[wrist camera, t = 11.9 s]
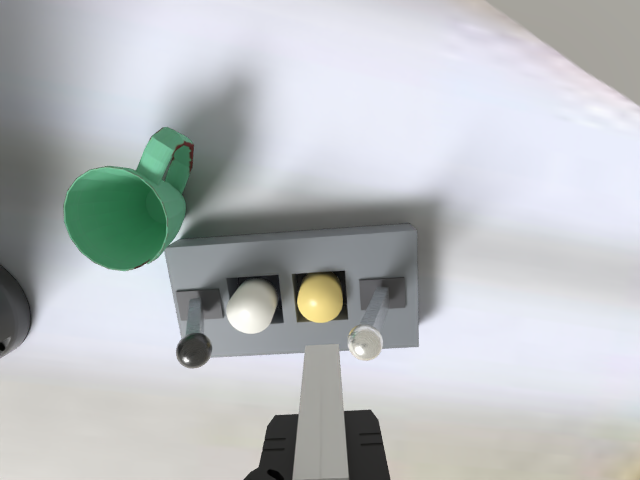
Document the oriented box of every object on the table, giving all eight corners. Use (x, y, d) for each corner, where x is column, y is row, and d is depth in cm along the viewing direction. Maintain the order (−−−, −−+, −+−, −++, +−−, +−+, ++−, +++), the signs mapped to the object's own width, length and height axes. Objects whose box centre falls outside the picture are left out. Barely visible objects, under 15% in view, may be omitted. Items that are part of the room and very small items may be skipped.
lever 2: (370, 308, 39) (344, 365, 29) (369, 283, 38) (342, 333, 28) (397, 310, 38) (380, 370, 28) (396, 284, 37) (378, 336, 27)
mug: (182, 259, 43) (139, 290, 33) (112, 215, 42) (46, 234, 32) (242, 159, 40) (213, 161, 30) (167, 109, 39) (112, 94, 29)
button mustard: (302, 308, 43) (299, 324, 39) (298, 270, 41) (295, 282, 38) (343, 306, 42) (344, 321, 38) (340, 267, 41) (341, 279, 37)
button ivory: (239, 317, 41) (229, 335, 38) (233, 278, 40) (222, 292, 36) (280, 315, 41) (275, 332, 37) (275, 276, 40) (269, 289, 36)
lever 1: (185, 322, 39) (178, 379, 29) (180, 298, 38) (171, 347, 28) (212, 317, 40) (215, 370, 30) (208, 293, 39) (209, 338, 29)
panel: (197, 341, 46) (184, 360, 42) (179, 239, 42) (162, 248, 38) (411, 329, 44) (419, 348, 40) (409, 223, 41) (417, 231, 37)
